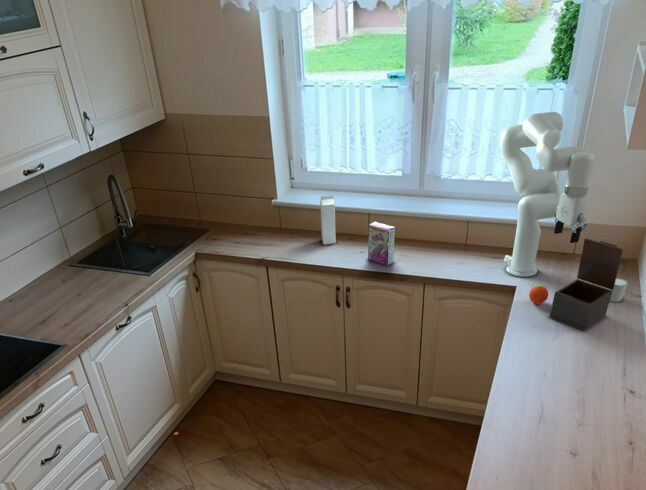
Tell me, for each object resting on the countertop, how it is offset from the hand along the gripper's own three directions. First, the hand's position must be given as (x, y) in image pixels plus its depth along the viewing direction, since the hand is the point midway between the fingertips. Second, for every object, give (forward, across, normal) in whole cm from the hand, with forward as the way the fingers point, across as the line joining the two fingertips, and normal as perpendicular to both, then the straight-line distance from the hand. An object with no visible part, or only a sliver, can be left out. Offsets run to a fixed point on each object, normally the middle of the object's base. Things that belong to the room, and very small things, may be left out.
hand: (565, 237), depth 217 cm
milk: (+23, -87, -65) cm, 111 cm away
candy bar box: (+24, -57, -50) cm, 79 cm away
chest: (+24, +17, -1) cm, 29 cm away
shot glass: (+24, +9, +20) cm, 33 cm away
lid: (+6, +14, +5) cm, 16 cm away
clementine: (+24, +1, -8) cm, 26 cm away
